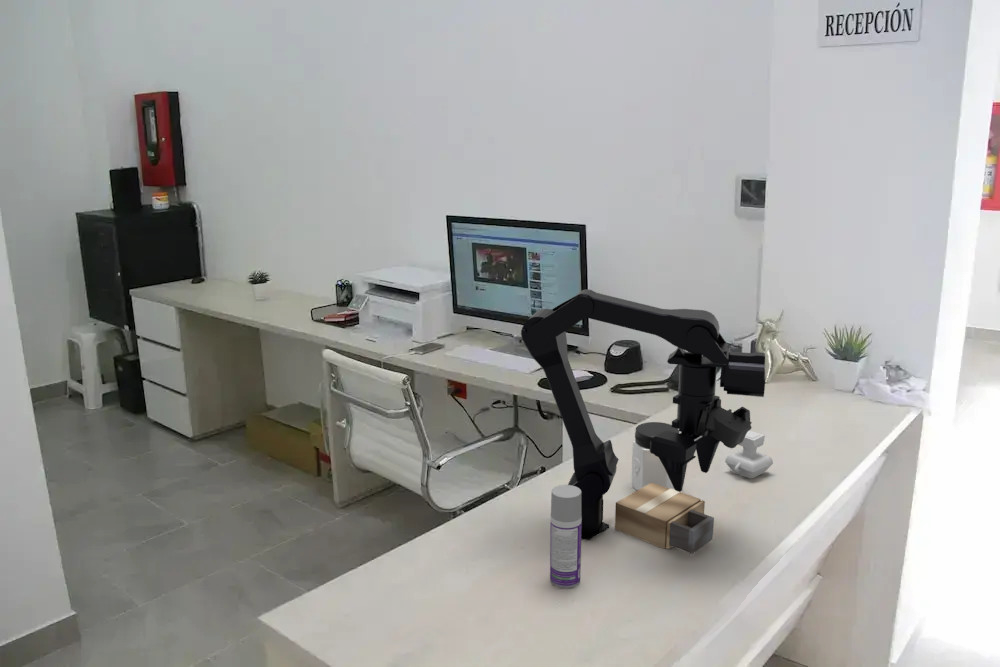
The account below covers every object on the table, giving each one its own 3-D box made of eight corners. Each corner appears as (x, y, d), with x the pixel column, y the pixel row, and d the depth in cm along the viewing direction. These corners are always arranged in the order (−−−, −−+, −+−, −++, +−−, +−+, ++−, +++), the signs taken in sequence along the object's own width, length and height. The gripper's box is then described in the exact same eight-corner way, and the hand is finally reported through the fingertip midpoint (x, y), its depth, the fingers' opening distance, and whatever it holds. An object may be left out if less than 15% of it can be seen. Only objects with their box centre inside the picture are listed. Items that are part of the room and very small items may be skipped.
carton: (664, 549, 138) (665, 520, 136) (614, 529, 144) (615, 502, 143) (699, 525, 145) (700, 498, 144) (650, 507, 152) (651, 481, 151)
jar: (625, 481, 163) (627, 423, 160) (662, 475, 165) (665, 418, 162) (646, 501, 154) (648, 440, 151) (685, 495, 157) (688, 435, 154)
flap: (691, 558, 134) (693, 531, 133) (666, 548, 137) (667, 522, 136) (725, 533, 142) (727, 508, 141) (700, 524, 145) (702, 499, 144)
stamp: (748, 485, 161) (751, 445, 158) (720, 474, 166) (722, 434, 163) (775, 473, 166) (779, 433, 164) (747, 462, 171) (750, 424, 169)
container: (561, 569, 132) (562, 481, 128) (586, 579, 129) (588, 489, 125) (543, 581, 128) (544, 492, 124) (569, 592, 125) (570, 500, 122)
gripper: (717, 418, 121) (711, 516, 125) (769, 386, 135) (762, 475, 139) (649, 402, 128) (646, 495, 132) (705, 373, 141) (700, 458, 145)
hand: (691, 481), depth 137 cm, fingers open, 9 cm apart
